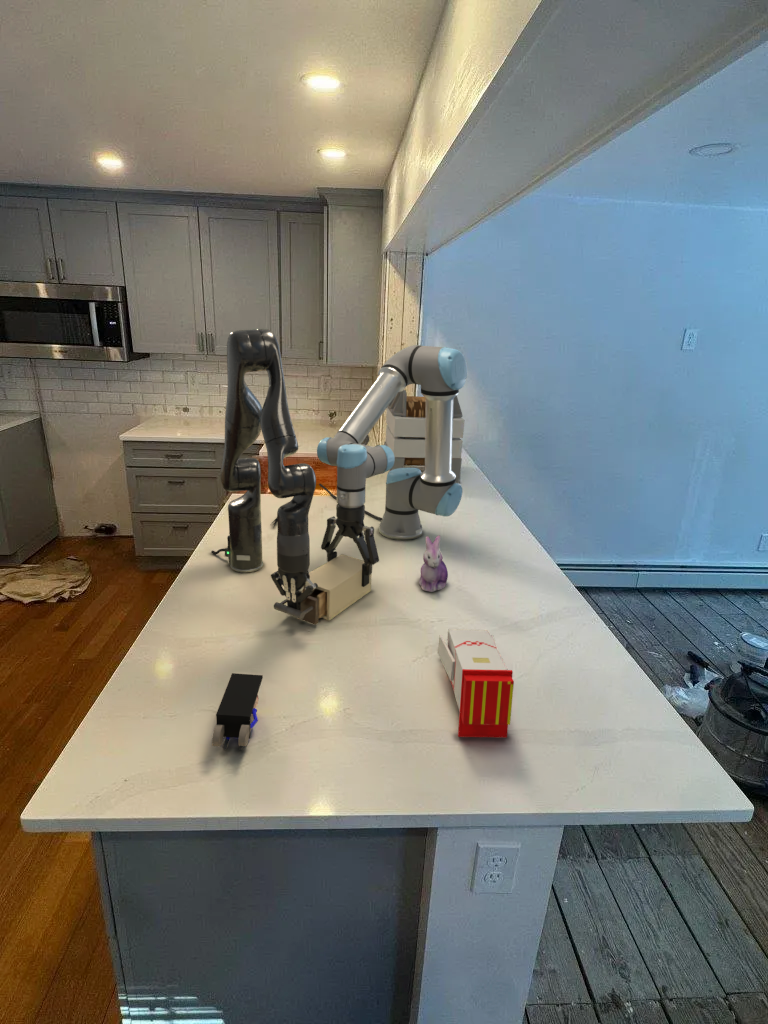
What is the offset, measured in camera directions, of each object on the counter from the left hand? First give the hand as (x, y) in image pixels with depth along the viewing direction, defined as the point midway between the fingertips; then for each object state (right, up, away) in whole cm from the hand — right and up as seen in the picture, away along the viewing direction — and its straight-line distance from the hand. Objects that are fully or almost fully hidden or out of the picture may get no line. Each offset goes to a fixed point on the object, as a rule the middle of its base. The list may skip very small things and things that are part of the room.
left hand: (294, 612), depth 138 cm
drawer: (+5, -1, +8) cm, 10 cm away
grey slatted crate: (+39, +43, +137) cm, 149 cm away
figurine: (+36, +3, +26) cm, 44 cm away
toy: (+40, -13, -19) cm, 46 cm away
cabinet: (+9, +1, +15) cm, 18 cm away
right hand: (+12, +6, +19) cm, 23 cm away
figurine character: (-5, -16, -33) cm, 37 cm away
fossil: (+7, +56, +169) cm, 179 cm away
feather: (-17, +23, +74) cm, 79 cm away
